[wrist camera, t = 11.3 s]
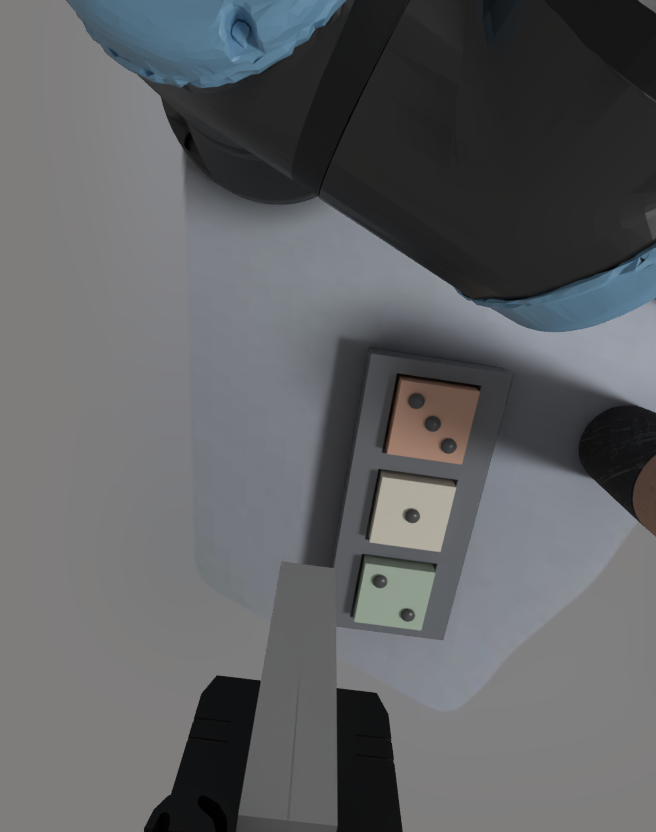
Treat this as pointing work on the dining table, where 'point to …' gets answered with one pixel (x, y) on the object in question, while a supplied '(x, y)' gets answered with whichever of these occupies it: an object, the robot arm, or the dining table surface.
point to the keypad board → (373, 456)
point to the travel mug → (624, 459)
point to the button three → (430, 418)
